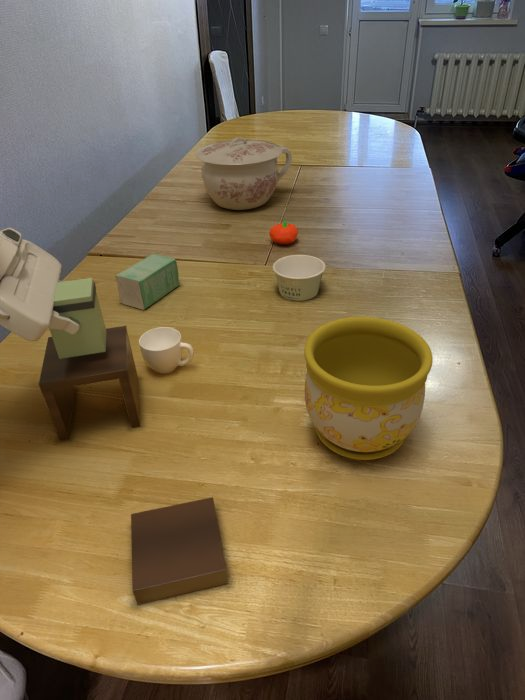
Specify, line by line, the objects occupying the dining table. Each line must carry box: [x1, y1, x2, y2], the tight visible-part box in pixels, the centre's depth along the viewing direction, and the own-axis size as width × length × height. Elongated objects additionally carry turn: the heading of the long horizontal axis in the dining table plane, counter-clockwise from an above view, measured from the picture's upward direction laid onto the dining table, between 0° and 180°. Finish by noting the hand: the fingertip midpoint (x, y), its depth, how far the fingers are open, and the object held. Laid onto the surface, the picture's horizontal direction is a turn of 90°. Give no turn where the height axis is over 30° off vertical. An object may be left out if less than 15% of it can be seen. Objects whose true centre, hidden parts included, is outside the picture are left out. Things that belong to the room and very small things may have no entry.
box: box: [115, 253, 180, 311], centre depth 121 cm, size 7×14×8 cm, turn 150°
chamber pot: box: [194, 137, 293, 211], centre depth 165 cm, size 28×28×21 cm
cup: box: [138, 326, 195, 375], centre depth 97 cm, size 8×10×7 cm
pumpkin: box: [268, 220, 299, 245], centre depth 142 cm, size 7×8×6 cm
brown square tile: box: [130, 496, 229, 605], centre depth 66 cm, size 11×11×3 cm
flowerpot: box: [303, 316, 434, 461], centre depth 78 cm, size 18×18×16 cm
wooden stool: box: [38, 325, 141, 442], centre depth 87 cm, size 13×13×12 cm
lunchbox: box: [48, 277, 107, 359], centre depth 79 cm, size 6×7×10 cm
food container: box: [272, 254, 326, 302], centre depth 120 cm, size 12×12×6 cm
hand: (79, 315), depth 79 cm, fingers closed on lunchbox, 6 cm apart
